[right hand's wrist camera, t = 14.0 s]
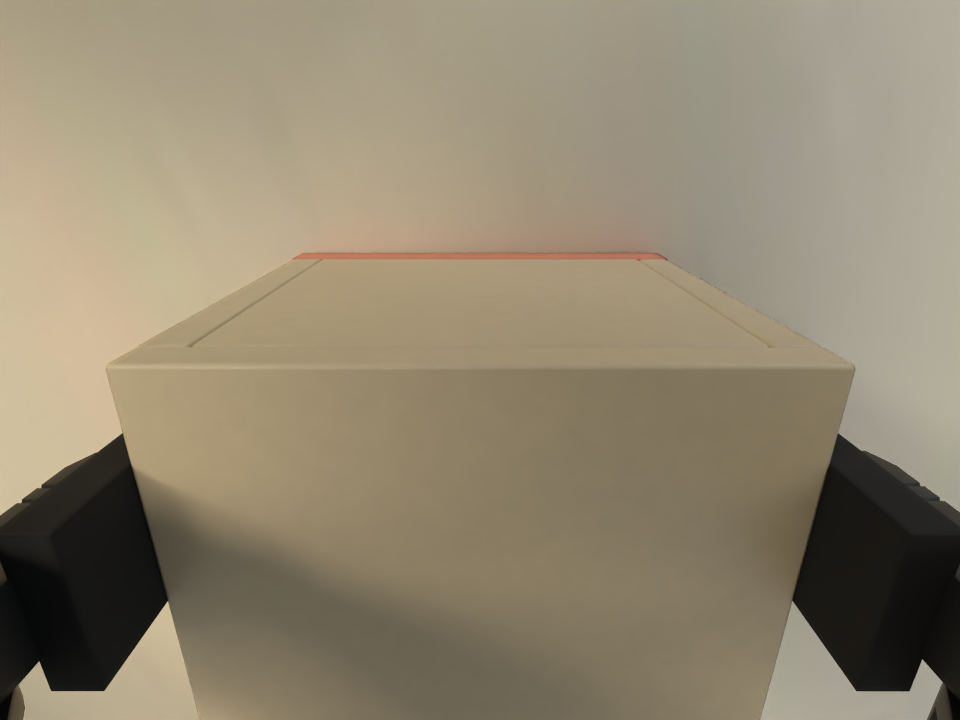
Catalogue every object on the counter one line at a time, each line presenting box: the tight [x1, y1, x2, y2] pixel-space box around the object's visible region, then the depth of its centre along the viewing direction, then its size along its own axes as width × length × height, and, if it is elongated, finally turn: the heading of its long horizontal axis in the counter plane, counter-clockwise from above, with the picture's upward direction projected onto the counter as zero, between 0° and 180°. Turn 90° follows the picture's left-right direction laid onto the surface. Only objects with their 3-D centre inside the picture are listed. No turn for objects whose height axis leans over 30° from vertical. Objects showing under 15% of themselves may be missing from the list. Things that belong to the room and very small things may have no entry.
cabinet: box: [106, 253, 855, 720], centre depth 15 cm, size 18×11×9 cm, turn 0°
